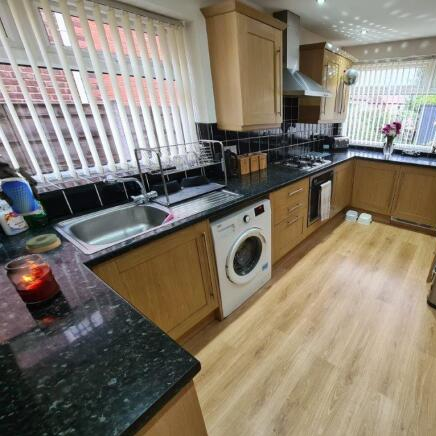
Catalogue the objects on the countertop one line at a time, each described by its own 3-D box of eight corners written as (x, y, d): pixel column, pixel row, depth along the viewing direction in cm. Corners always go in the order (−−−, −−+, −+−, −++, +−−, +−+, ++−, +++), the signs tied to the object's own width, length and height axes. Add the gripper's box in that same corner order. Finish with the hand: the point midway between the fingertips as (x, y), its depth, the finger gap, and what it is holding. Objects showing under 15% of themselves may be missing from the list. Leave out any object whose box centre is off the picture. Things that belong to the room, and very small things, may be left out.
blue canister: (13, 218, 106) (-5, 182, 100) (16, 212, 112) (-1, 178, 105) (39, 213, 111) (24, 179, 105) (41, 208, 117) (27, 175, 110)
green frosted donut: (20, 254, 104) (16, 246, 102) (41, 241, 114) (37, 233, 112) (49, 252, 105) (45, 244, 103) (67, 239, 115) (63, 232, 113)
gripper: (24, 162, 118) (54, 198, 119) (-44, 171, 101) (-9, 214, 101) (24, 152, 114) (55, 190, 114) (-47, 159, 97) (-10, 204, 97)
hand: (25, 201), depth 108 cm, fingers closed on blue canister, 8 cm apart
